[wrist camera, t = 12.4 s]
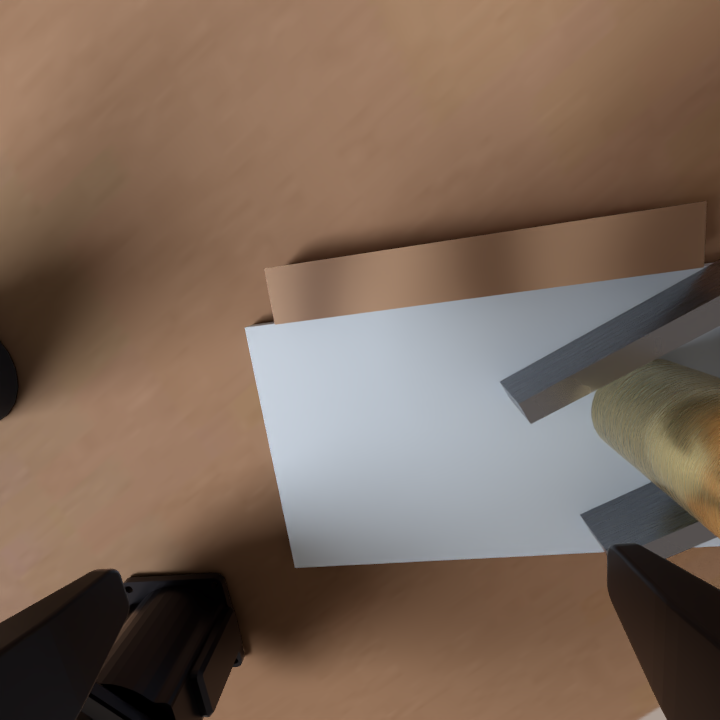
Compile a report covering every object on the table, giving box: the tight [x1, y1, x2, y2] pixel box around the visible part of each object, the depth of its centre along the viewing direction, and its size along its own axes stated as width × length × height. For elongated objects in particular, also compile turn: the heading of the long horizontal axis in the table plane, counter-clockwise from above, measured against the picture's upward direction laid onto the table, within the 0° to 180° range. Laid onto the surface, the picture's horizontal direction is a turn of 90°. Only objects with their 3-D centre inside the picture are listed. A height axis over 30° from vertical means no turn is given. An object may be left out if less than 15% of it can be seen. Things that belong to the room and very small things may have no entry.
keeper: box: [500, 260, 720, 559], centre depth 16 cm, size 10×9×3 cm
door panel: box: [245, 263, 720, 568], centre depth 19 cm, size 25×14×1 cm, turn 98°
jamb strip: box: [264, 201, 707, 325], centre depth 17 cm, size 17×2×2 cm, turn 98°
